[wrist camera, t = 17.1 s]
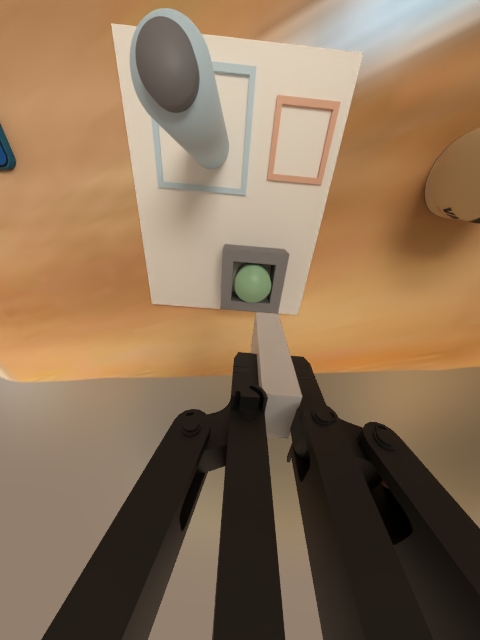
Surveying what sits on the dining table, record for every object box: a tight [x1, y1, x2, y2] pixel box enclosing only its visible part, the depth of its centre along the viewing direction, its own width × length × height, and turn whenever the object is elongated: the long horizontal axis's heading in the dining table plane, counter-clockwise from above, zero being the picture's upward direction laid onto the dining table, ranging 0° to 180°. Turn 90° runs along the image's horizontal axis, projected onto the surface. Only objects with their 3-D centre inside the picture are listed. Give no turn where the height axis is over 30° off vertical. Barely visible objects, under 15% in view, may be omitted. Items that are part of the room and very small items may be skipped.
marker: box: [130, 8, 229, 169], centre depth 14 cm, size 4×4×13 cm
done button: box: [235, 262, 271, 303], centre depth 23 cm, size 4×4×3 cm
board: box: [111, 23, 363, 315], centre depth 21 cm, size 24×20×4 cm
